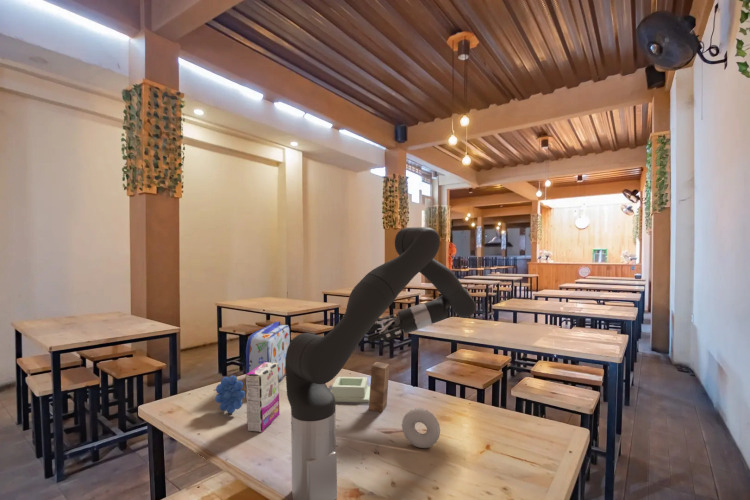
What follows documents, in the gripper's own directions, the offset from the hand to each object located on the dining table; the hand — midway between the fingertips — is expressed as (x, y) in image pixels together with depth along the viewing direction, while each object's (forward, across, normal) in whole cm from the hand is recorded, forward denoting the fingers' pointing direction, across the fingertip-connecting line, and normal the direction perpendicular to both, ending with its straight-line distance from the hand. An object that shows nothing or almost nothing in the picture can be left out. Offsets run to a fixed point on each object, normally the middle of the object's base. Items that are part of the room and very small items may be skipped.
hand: (366, 334), depth 118 cm
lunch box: (+42, -26, +15) cm, 51 cm away
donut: (-5, +28, +23) cm, 36 cm away
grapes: (+48, 0, +10) cm, 49 cm away
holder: (+12, -8, +22) cm, 26 cm away
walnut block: (+4, +4, +23) cm, 24 cm away
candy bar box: (+37, +9, +12) cm, 40 cm away
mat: (+12, -8, +22) cm, 26 cm away
